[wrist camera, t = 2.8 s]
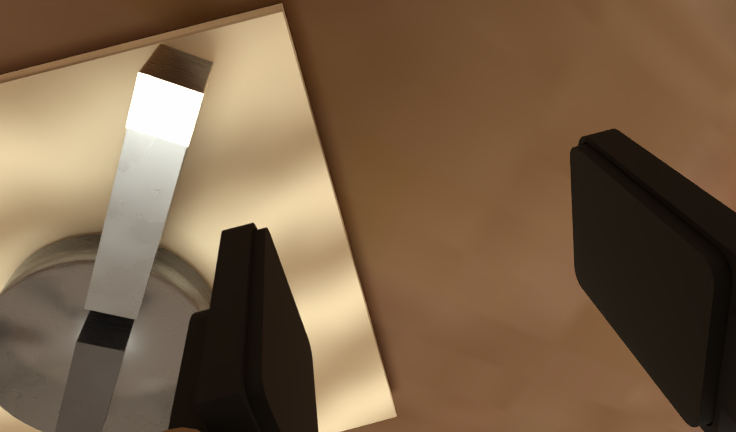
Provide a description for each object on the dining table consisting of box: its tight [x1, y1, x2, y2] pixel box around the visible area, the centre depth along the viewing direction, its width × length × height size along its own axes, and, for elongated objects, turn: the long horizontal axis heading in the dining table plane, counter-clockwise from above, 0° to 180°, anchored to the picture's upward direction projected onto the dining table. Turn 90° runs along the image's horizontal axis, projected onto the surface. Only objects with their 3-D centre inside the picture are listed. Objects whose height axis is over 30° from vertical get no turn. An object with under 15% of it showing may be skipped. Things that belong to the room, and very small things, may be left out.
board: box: [0, 3, 397, 432], centre depth 29 cm, size 24×24×2 cm
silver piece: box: [0, 43, 215, 432], centre depth 24 cm, size 19×10×5 cm, turn 157°
